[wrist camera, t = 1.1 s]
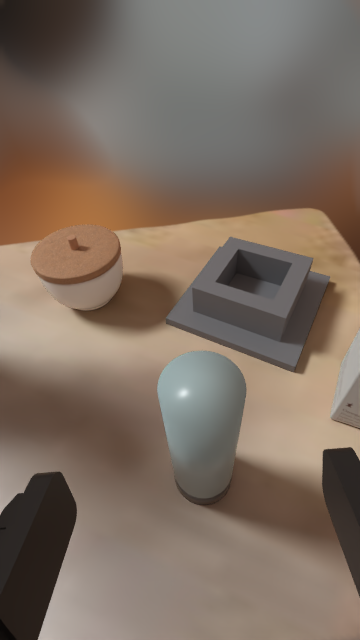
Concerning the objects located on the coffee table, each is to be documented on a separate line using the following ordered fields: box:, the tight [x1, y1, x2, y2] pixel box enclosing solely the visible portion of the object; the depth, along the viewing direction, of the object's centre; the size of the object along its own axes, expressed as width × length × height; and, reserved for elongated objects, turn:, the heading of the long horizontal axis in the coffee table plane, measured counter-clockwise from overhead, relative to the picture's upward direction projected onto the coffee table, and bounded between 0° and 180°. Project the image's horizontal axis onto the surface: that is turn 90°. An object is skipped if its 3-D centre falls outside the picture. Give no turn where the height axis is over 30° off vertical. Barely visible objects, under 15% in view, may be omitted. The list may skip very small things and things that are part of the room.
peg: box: [157, 351, 246, 505], centre depth 25 cm, size 5×5×15 cm
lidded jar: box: [31, 225, 123, 311], centre depth 43 cm, size 11×11×9 cm
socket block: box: [166, 237, 330, 372], centre depth 42 cm, size 16×16×5 cm
